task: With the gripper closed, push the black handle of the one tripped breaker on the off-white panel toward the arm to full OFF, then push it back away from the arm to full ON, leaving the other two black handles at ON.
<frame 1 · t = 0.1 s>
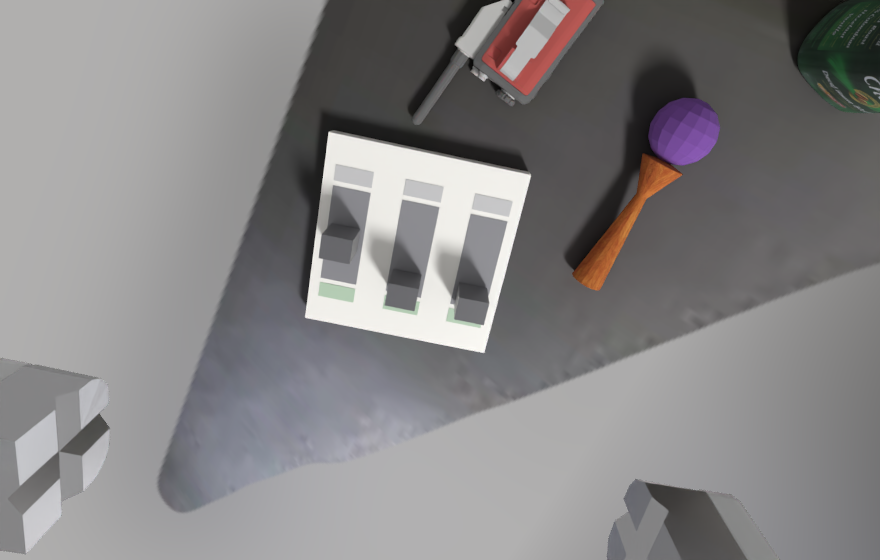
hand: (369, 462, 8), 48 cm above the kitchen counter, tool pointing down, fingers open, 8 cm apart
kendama: (631, 193, 55), on the kitchen counter
breaker panel: (413, 244, 57), on the kitchen counter
walkie-talkie: (504, 56, 51), on the kitchen counter
coffee jar: (844, 59, 50), on the kitchen counter
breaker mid: (403, 289, 54), point 4 cm above the kitchen counter, slide at 7.0 cm
tripped breaker: (340, 243, 53), point 4 cm above the kitchen counter, slide at 3.5 cm
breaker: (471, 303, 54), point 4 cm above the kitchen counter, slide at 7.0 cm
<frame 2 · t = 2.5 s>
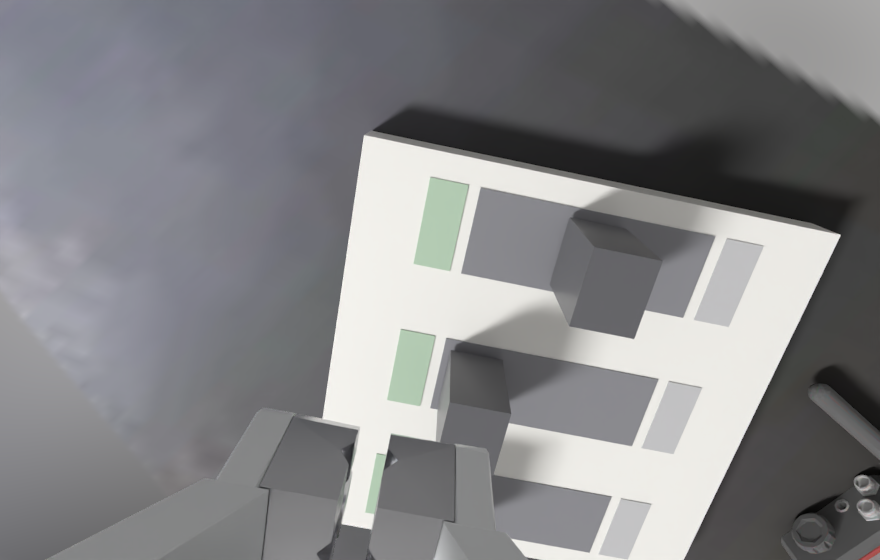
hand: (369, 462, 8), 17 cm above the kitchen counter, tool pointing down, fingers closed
breaker panel: (536, 372, 27), on the kitchen counter
walkie-talkie: (859, 511, 30), on the kitchen counter
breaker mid: (470, 409, 23), point 4 cm above the kitchen counter, slide at 7.0 cm
tripped breaker: (599, 274, 20), point 4 cm above the kitchen counter, slide at 3.5 cm
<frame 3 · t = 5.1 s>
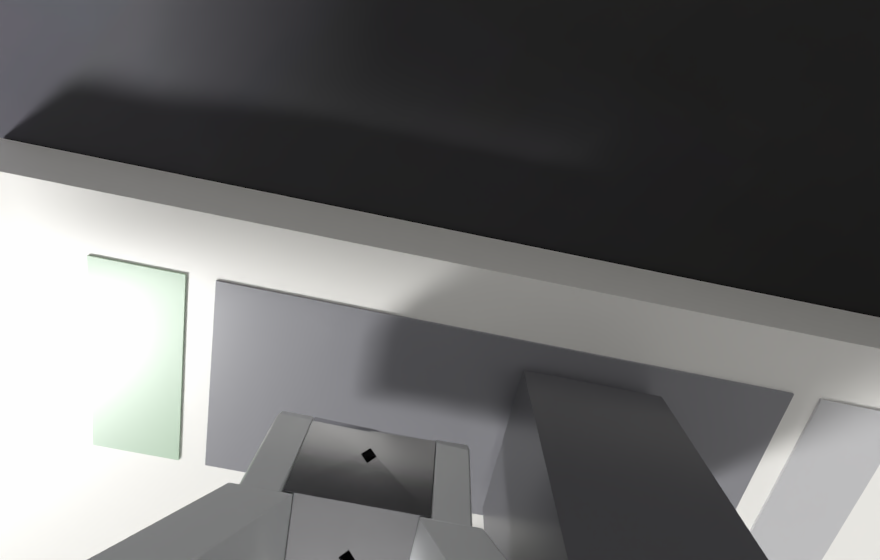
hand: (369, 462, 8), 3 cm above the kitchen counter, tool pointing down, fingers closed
tripped breaker: (597, 552, 8), point 4 cm above the kitchen counter, slide at 2.0 cm, touching gripper
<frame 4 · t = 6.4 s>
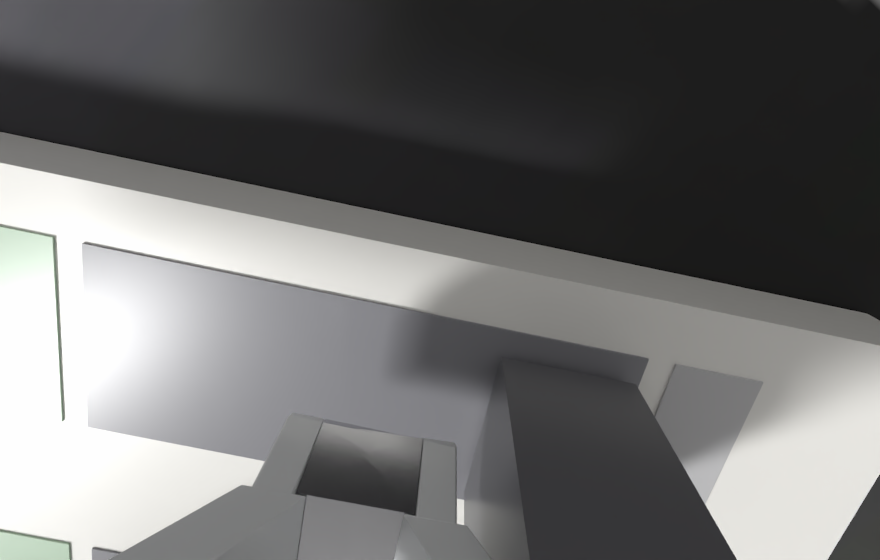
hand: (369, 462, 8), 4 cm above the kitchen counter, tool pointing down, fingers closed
tripped breaker: (566, 530, 8), point 4 cm above the kitchen counter, slide at -0.1 cm, touching gripper
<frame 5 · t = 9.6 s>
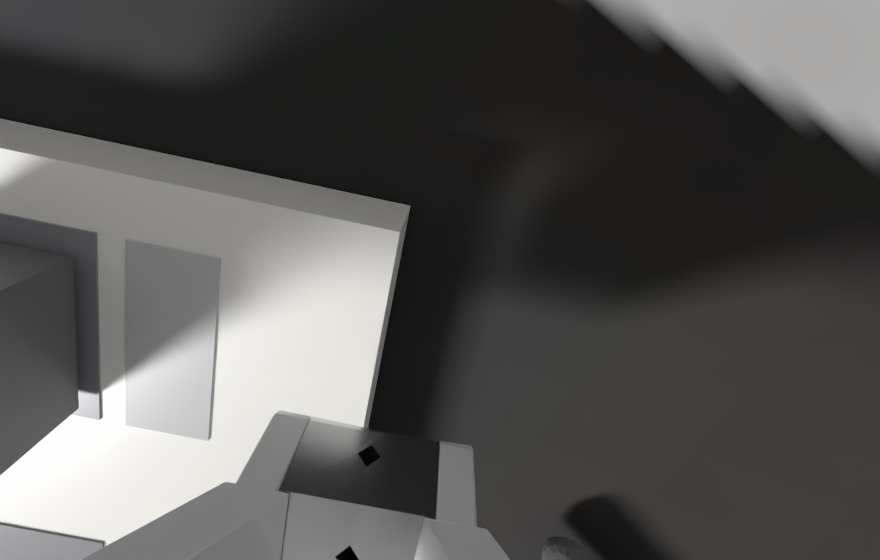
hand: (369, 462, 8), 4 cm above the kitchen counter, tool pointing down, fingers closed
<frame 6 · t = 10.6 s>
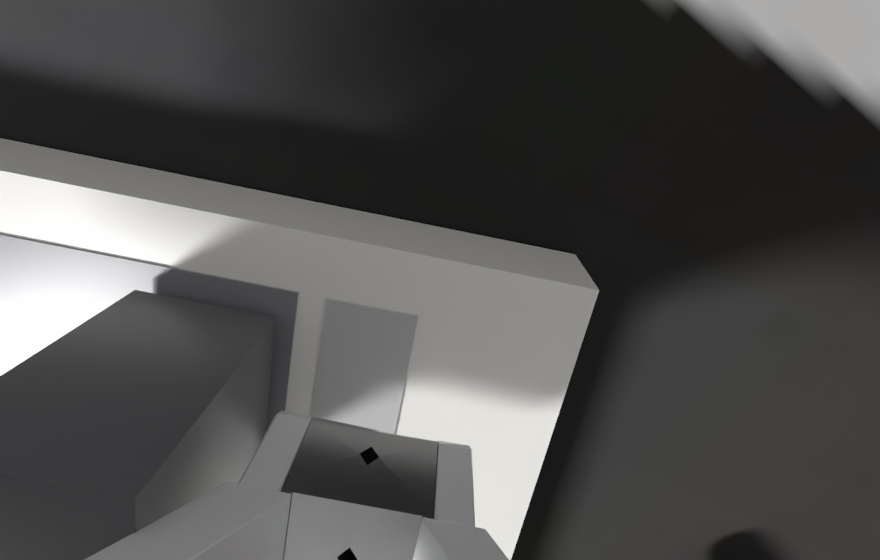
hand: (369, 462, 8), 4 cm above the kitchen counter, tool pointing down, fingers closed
breaker panel: (96, 535, 14), on the kitchen counter
tripped breaker: (135, 456, 8), point 4 cm above the kitchen counter, slide at 0.0 cm, touching gripper
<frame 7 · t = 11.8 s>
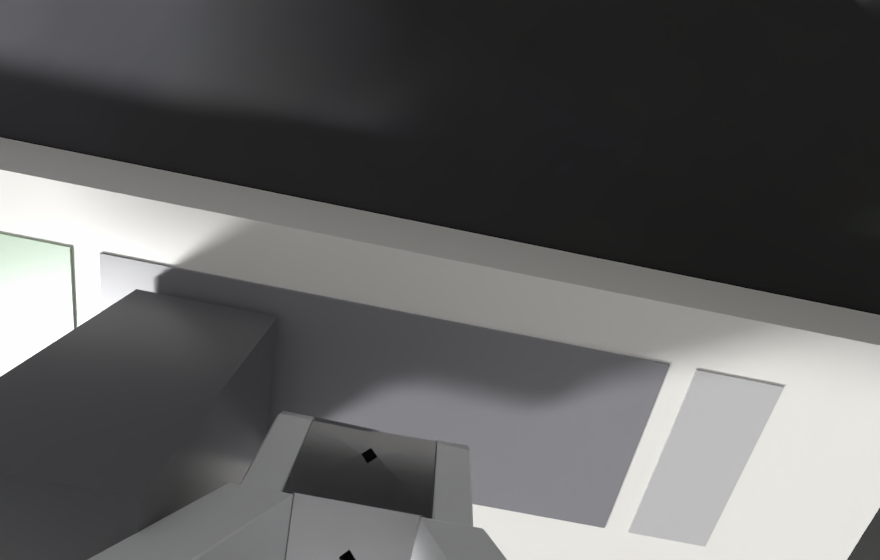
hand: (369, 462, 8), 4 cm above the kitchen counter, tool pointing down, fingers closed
tripped breaker: (137, 456, 8), point 4 cm above the kitchen counter, slide at 6.5 cm, touching gripper
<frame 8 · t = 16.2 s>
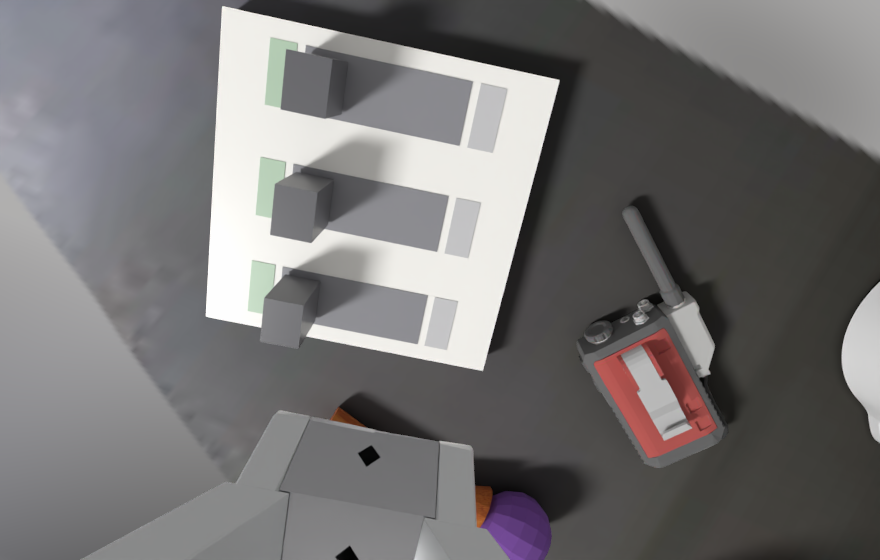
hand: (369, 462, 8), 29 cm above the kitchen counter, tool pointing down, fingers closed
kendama: (438, 466, 45), on the kitchen counter
breaker panel: (371, 202, 36), on the kitchen counter
walkie-talkie: (637, 337, 40), on the kitchen counter
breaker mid: (303, 205, 32), point 4 cm above the kitchen counter, slide at 7.0 cm
tripped breaker: (316, 84, 30), point 4 cm above the kitchen counter, slide at 7.1 cm
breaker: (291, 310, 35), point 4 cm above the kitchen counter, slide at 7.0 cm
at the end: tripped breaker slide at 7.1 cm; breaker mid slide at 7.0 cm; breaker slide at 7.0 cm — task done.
